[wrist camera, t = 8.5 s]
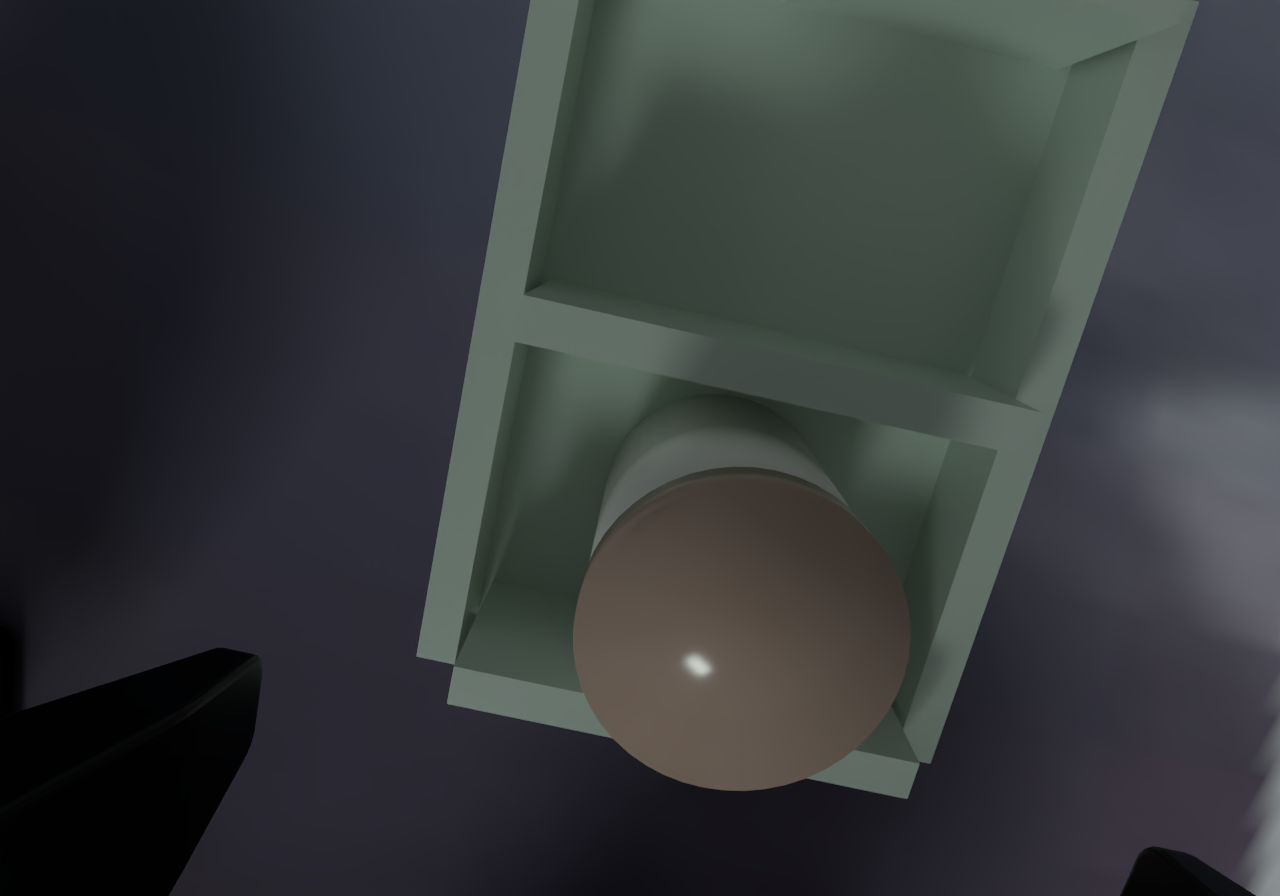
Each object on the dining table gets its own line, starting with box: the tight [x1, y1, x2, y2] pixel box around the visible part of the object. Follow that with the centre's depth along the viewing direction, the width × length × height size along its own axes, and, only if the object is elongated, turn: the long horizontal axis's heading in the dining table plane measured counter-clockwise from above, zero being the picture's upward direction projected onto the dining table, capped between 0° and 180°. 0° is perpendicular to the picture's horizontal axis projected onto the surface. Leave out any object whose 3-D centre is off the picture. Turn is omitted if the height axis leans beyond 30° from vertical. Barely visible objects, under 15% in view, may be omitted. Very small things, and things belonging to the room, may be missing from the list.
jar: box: [573, 394, 911, 791], centre depth 16 cm, size 5×5×7 cm
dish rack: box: [416, 0, 1199, 799], centre depth 17 cm, size 15×11×5 cm
